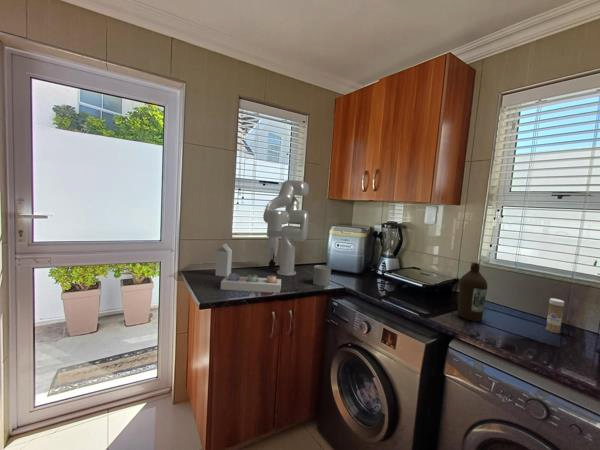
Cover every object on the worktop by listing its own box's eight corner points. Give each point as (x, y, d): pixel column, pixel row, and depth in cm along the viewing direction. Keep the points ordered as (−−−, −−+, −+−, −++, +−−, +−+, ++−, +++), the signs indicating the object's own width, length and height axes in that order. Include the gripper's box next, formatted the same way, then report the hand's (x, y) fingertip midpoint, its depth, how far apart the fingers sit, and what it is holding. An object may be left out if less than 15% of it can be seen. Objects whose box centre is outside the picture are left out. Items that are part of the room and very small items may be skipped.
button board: (226, 282, 155) (226, 275, 154) (280, 286, 155) (281, 279, 155) (220, 289, 143) (221, 281, 142) (279, 293, 143) (280, 285, 143)
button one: (266, 283, 151) (267, 275, 151) (276, 283, 152) (276, 275, 151) (265, 285, 146) (266, 277, 146) (275, 286, 147) (275, 278, 146)
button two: (229, 280, 151) (230, 272, 151) (239, 281, 151) (239, 273, 151) (227, 283, 146) (227, 275, 146) (237, 284, 146) (237, 275, 146)
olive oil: (450, 313, 131) (456, 260, 129) (469, 312, 133) (475, 260, 131) (469, 322, 120) (475, 265, 119) (489, 322, 123) (496, 265, 121)
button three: (248, 282, 151) (248, 273, 151) (257, 282, 151) (258, 274, 151) (246, 284, 146) (247, 276, 146) (256, 285, 146) (256, 276, 146)
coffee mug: (327, 287, 160) (328, 269, 159) (310, 284, 163) (311, 267, 162) (332, 281, 172) (334, 265, 171) (317, 279, 176) (318, 263, 175)
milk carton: (230, 274, 174) (232, 243, 172) (226, 277, 167) (228, 245, 165) (219, 273, 174) (221, 242, 173) (215, 275, 167) (216, 244, 166)
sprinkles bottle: (545, 331, 117) (549, 299, 116) (545, 327, 120) (549, 297, 119) (560, 334, 114) (565, 302, 113) (560, 331, 117) (564, 300, 116)
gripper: (268, 232, 154) (266, 265, 155) (265, 234, 139) (263, 271, 140) (282, 233, 155) (279, 266, 155) (280, 235, 140) (278, 272, 141)
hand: (271, 268), depth 148 cm, fingers closed
